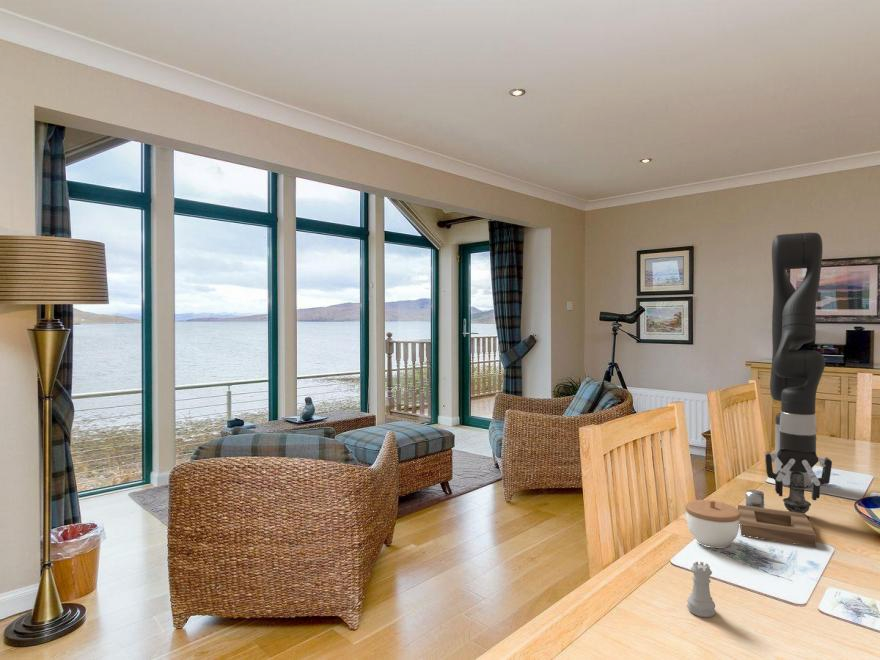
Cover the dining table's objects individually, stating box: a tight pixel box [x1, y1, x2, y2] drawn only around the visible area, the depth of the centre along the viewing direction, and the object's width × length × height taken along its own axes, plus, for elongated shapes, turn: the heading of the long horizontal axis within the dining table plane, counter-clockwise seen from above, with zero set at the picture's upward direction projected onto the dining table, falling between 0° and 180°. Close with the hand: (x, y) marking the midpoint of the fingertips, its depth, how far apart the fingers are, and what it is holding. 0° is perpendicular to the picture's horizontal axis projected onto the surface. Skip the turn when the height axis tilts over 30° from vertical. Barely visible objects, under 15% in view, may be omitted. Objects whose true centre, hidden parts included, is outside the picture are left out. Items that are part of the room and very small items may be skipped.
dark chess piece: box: [782, 471, 812, 521], centre depth 133 cm, size 6×6×12 cm
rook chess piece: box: [686, 561, 716, 619], centre depth 91 cm, size 4×4×8 cm
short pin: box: [745, 489, 765, 508], centre depth 136 cm, size 4×4×5 cm
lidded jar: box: [685, 499, 740, 549], centre depth 118 cm, size 11×11×9 cm
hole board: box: [737, 504, 817, 548], centre depth 125 cm, size 14×14×2 cm
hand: (796, 497), depth 133 cm, fingers open, 6 cm apart
